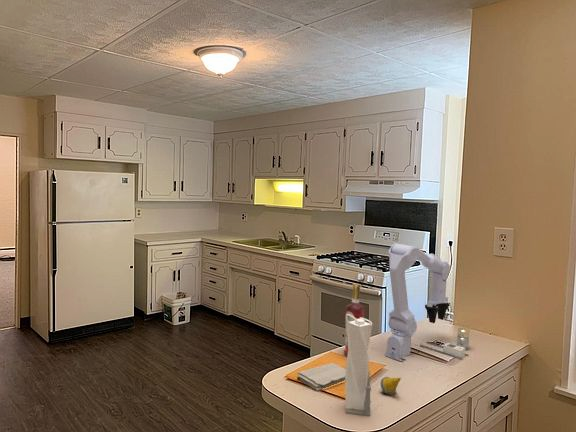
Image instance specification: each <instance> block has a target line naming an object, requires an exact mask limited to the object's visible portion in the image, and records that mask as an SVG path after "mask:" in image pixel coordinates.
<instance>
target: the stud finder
mask: <svg viewBox="0 0 576 432" xmlns="http://www.w3.org/2000/svg"><path fill="white" fill-rule="evenodd" d="M442 346H443V348H442V352H445V353H448V354H451V355H454V356H457V357H460V358H464V357H466V356H465V354H466V351H465V348H463V347H460V346H457V344H453V343H449V342H447V343H445V344H443V345H442Z"/></svg>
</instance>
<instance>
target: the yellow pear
mask: <svg viewBox="0 0 576 432" xmlns="http://www.w3.org/2000/svg"><path fill="white" fill-rule="evenodd" d="M401 380H402V377H389V376H384V377H383V378H382V379H381V380H380V383H379V384H380V387H381V390H382V394H384V393H385V395H389V396H390V395H393V394H395V393H396V391H397V387H398V385H399V383H400V382H401Z"/></svg>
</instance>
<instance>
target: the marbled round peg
mask: <svg viewBox="0 0 576 432" xmlns="http://www.w3.org/2000/svg"><path fill="white" fill-rule="evenodd" d="M470 332H471V331H470V329H468V328H466V327H458V328H457V336H456V337H457V339H456V346H460V347H463V348H465V352H466V351H469V346H470V345H469V344H470V343H469V342H470Z"/></svg>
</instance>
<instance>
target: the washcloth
mask: <svg viewBox="0 0 576 432" xmlns="http://www.w3.org/2000/svg"><path fill="white" fill-rule="evenodd" d="M345 374H346V368H344V367H342V366H341V365H338V364H336V363H334V362H330V363H327V364H322V365H318V366H316V367H315V366H314V367H312V368H308V369H304V370H299V372H297V377H296V379H298V378H299V379H300V380H299V379H298V380H299V382H301V383H303V384H304V385H306V386H307V387H309V388H311V389H313V390H314V391H323V390H322V389H323V388H326V387H329V386H331V385H334V384H337V383H339V382H342V381H344V380H345Z"/></svg>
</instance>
